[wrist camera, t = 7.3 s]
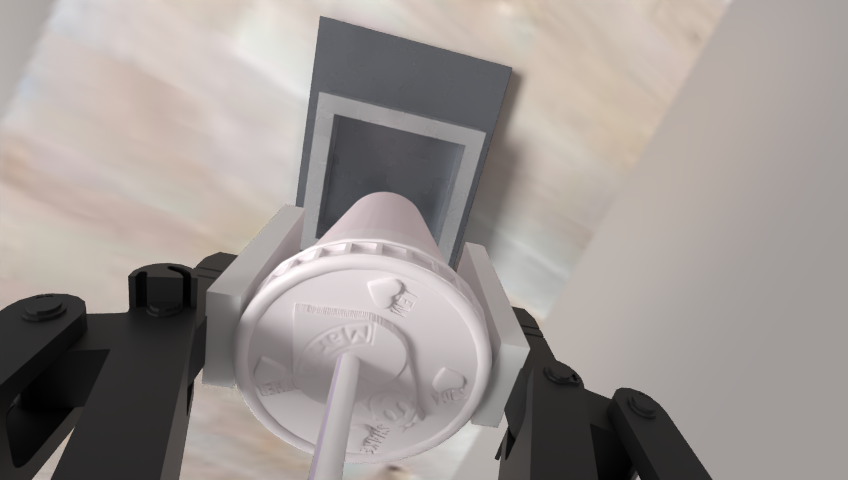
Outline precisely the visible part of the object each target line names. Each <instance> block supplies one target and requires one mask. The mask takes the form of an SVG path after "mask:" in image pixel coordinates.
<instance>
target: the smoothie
mask: <svg viewBox="0 0 848 480" xmlns="http://www.w3.org/2000/svg"><path fill="white" fill-rule="evenodd" d="M232 366H233V372H234V377H235V381H236V383H237V386H238V389H239V391H240V393H241V396H242V398H243V399H244V401H245V403H246V404H247V406H248V408H249V409H250V410H251V411H252V413H253V414H254V415H255V417H256V418H257V419H258V420H259V421H260V422H261V423H262V424H263V425H264V426H265V427H266V428H268V429H269V430H270V431H271V432H272V433H273V434H275V435H276V436H278V437H279V438H281V439H282V440H284V441H285V442H287V443H288V444H290V445H292V446H294V447H296V448H298V449H300V450H303V451H305V452H307V453H309V454H312V455H313V459H312V463H311V467H310V471H309V476H308V480H342V474H343V468H344V462H348V463H382V462H389V461H397V460H401V459H404V458H408V457H411V456H414V455H418V454H420V453H422V452H425V451H427V450H429V449H431V448H433V447H436V446H438V445H439V444H441V443H442V442H444V441H445V440H447V439H449V438H450V437H451V436H453V435H454V434H455V433H457V432H458V431H459V430H460V429H461V428H462V427H463V426H464V425H465V424H466V423H467V422H468V421H469V420H470V419H471V417H472V416H473V415H474V413H475V412H476V411H477V409H478V408H479V406H480V404H481V403H482V401H483V399H484V396H485V394H486V392H487V389H488V386H489V383H490V378H491V372H492V351H491V344H490V340H489V334H488V329H487V325H486V320H485V315H484V311H483V309H482V307H481V305H480V304H479V302H478V300H477V298H476V297H475V295H474V293H473V291H472V290H471V288H470V286H469V285H468V284H467V283H466V282H465V281H464V280H463V279H462V278H461V277H460V276H459V275H458V274H457V273H456V272H455V271H454V270H453V269H452V268H451V267H450V266H448V265H447V264H446V262H445V260H444V259H443V257H442V255H441V253H440V251H439V249H438V247H437V245H436V243H435V241H434V239H433V237H432V235H431V233H430V231H429V229H428V227H427V225H426V223H425V221H424V220H423V218H422V216H421V214H420V212H419V210H418V209H417V207H416V206H415V205H414V204H413V203H412V202H411V201H409V200H408V199H406V198H405V197H403V196H401V195H398V194H395V193H391V192H376V193H372V194H369V195H366V196H364V197H363V198H361V199H360V200H358V201H357V202H356V203H355V204H354V205H353V206H352V207H351V208H350V209H349V210H348V211H347V212H346V213H345V214H344V215H343V216H342V217H341V218H340V219H339V220H338V221H337V222H336V223H335V224H334V225H333V226H332V228H331V229H330V230H329V231H328V232H327V233H326V234H325V235H324V236H323V237H322V238H321V239H320V240H319V241H318V242H317V243H316V244H315V245H314V246H311V247H309V248H307V249H305V250H304V251H302V252H300V253H298V254H296V255H294V256H293V257H291V258H289V259H287V260H285V261H283V262H282V263H281V264H280V265H279V266H278V267H277V268H276V269H275V270H274V271H273V272H272V273H271V274H270V275H269V276H268V277H266V278H265V279H264V280H263V281H262V282H261V283H260V284H259V286H258V288H257V290H256V292H255V294H254V296H253V298H252V300H251V302H250V304H249V305H248V307H247V308H246V310H245V312H244V313H243V315H242V317H241V319H240V321H239V324H238V326H237V329H236V332H235V335H234V340H233V346H232Z"/></svg>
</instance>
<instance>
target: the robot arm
mask: <svg viewBox="0 0 848 480" xmlns="http://www.w3.org/2000/svg"><path fill="white" fill-rule="evenodd" d="M305 210H306V208H302V207H297V206H292V205H287V204H285V205H284V206H283V207H282V208H281V210H280V211H279V212H278V213H277V214H276V215H275V216H274V217H273V218H272V219H271V221H270V222H269V223H268V224H267V225H266V226H265V227H264V228H263V229H262V230H261V232H260V233H259V234H258V235H257V236H256V237H255V238H254V239H253V240H252V241H251V243H250V244H249V245H248V246H247V247H246V248H245V249H244V250H243V251H242V252H241V253H240V255H239V256H238V255H233V254H227V253H222V252H219V253H216V254H214V255H211V256H208V257H206V258H204V259H203V260H202V261H201V262H200V263H199V264H198V265H197V266H196V268H194V269H192V268H190V267H187V266H184V265H181V264H172V263H160V264H152V265H147V266H143V267H141V268H139V269H136V270H134V271H133V272H132V273H131V274H130V275H129V276H128V282H129V310H128V312H126V313H104V314H86V306H85V301H83V300H82V299H80V298H79V297H77V296H72V295H68V294H54V293H52V294H45V295H44V294H41V295H36V296H32V297H29V298H25V299H22V300H19V301H17V302H15V303H13V304H11V305H9V306H7V307H6V308H4V309H3V310H1V311H0V480H32V479H33V477H34V476H35V475H36V474H37V472H38V471H39V470H40V469H41V467H42V466H43V465H44V464H45V463H46V461H47V460H48V459H49V458H50V456H51V455H52V454H53V453H54V451H55V450H56V449H57V448H58V447H59V445H60V444H61V443H62V442H63V440H64V439H65V438H66V437H67V435H68V434H69V433H70V432H71V431H72V429H73V428H74V427H75V428H74V430H73V432H72V434H71V436H70V439H69V441H68V443H67V445H66V447H65V450H64V452H63V454H62V456H61V458H60V460H59V463H58V465H57V467H56V469H55V471H54V473H53V476H52V478H51V480H179V476H180V470H181V464H182V459H183V453H184V447H185V441H186V435H187V430H188V424H189V418H190V412H191V406H192V401H193V395H194V379H195V378H196V376H197V375H198V373H199V372H200V370H201V369H202V368H203V377H202V384H208V385H214V386H221V387H228V388H234V386H235V384H236V381H235V377H234V372H233V366H232V346H233V340H234V335H235V332H236V329H237V326H238V324H239V321H240V319H241V317H242V315H243V313H244V312H245V310H246V308H247V307H248V305H249V304H250V302H251V300H252V298H253V296H254V294H255V292H256V290H257V288H258V286H259V284H260V283H261V282H262V281H263V280H264V279H265V278H266V277H268V276H269V275H270V274H271V273H272V272H273V271H274V270H275V269H276V268H277V267H278V266H279V265H280V264H281V263H282V262H283V261H285V260H287V259H289V258H291V257H293V256H294V255H296V254H298V253H300V246H301V239H302V232H303V225H304V217H305ZM456 273H457V274H458V275H459V276H460V277H461V278H462V279H463V280H464V281H465V282H466V283H467V284H468V285H469V286H470V288H471V290H472V291H473V293H474V295H475V297H476V298H477V300H478V302H479V304H480V305H481V307H482V309H483V311H484V315H485V320H486V325H487V329H488V334H489V340H490V344H491V351H492V372H491V378H490V383H489V386H488V389H487V392H486V394H485V396H484V399H483V401H482V403H481V404H480V406H479V408H478V409H477V411H476V412H475V413H474V415H473V416H472V417H471V423H472V424H475V425H482V426H489V427H496V428H498V426H499V423H500V421H501V419H502V416H503V414H504V412H505V415H506V418H507V422H508V428H507V430H506V433H505V435H504V437H503V440H502V442H501V444H500V447H499V449H498V452H497V454H496V456H495V459H496V460H499V458H500V456H501V461H500V469H499V477H498V480H636V478H637V476H638V475H639V477H640V479H641V480H712V478H711V477H710V475H709V474H708V472H707V471H706V470H705V468H704V467H703V465H702V464H701V462H700V461H699V459H698V458H697V456H696V455H695V453H694V452H693V451H692V449H691V448H690V446H689V445H688V443H687V442H686V440H685V439H684V437H683V436H682V435H681V433H680V431H679V430H678V429H677V427H676V426H675V424H674V423H673V421H672V420H671V418H670V417H669V416H668V414H667V413H666V411H665V410H664V409H663V408H662V407H661V406H660V405H659V404H658V403H657V402H656V401H654V400H653V399H652V398H651V397H649V396H648V395H645V394H644V393H642V392H640V391H637V390H634V389H631V388H620V389H617V390H616V392H615V393H614V396H613V397H612V399H609V398H606V397H604V396H601V395H599V394H596V393H593V392H591V391H589V390H587V389H584V384H583V381H582V379H581V377H580V376H579V375H578V374H577V373H576V372H575V371H574V370H572V369H571V368H570V367H569V366H567V365H565V364H563V363H561V362H559V361H557V360H556V359H555V357H554V355H553V353H552V352H551V350H550V348H549V346H548V344H547V342H546V340H545V338H543V334H542V332H541V330H539V326H538V325H537V323H536V321H535V319H534V318H533V317H532V316H531V315H530V314H529V313H528V312H527V311H526V310H525V309H522V308H517V307H511V305H510V302H509V300H508V298H507V296H506V294H505V291H504V289H503V287H502V285H501V283H500V280H499V278H498V276H497V274H496V272H495V269H494V267H493V265H492V263H491V261H490V258H489V256H488V254H487V252H486V249H485V247H484V246H483V245H478V244H474V243H469V242H465V246H464V249H463V252H462V256H461V259H460V262H459V266H458V269H457V272H456Z"/></svg>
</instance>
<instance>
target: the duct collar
mask: <svg viewBox="0 0 848 480" xmlns="http://www.w3.org/2000/svg"><path fill="white" fill-rule="evenodd" d="M511 70H512V68H511V67H507V66H504V65H500V64H496V63H493V62H489V61H485V60H481V59H478V58H474V57H470V56H467V55H463V54H459V53H456V52H452V51H448V50H445V49H441V48H437V47H434V46H430V45H426V44H422V43H419V42H415V41H411V40H408V39H404V38H400V37H397V36H393V35H389V34H386V33H382V32H378V31H375V30H371V29H367V28H364V27H360V26H356V25H352V24H349V23H345V22H341V21H338V20H334V19H330V18H327V17H323V16H320V21H319V29H318V36H317V44H316V52H315V59H314V67H313V75H312V83H311V90H310V98H309V106H308V113H307V121H306V129H305V136H304V144H303V152H302V160H301V167H300V175H299V183H298V190H297V198H296V206H297V207H302V208H306V210H305V217H304V225H303V232H302V239H301V246H300V252H302V251H304V250H305V249H307V248H309V247H311V246H314V245H315V244H316V243H317V242H318V241H319V240H320V239H321V238H322V237H323V236H324V235H325V234H326V233H327V232H328V231H329V230H330V229H331V228H332V226H333V225H334V224H335V223H336V222H337V221H338V220H339V219H340V218H341V217H342V216H343V215H344V214H345V213H346V212H347V211H348V210H349V209H350V208H351V207H352V206H353V205H354V204H355V203H356V202H357V201H358V200H360V199H361V198H363V197H364V196H366V195H369V194H372V193H376V192H391V193H395V194H398V195H401V196H403V197H405V198H406V199H408V200H409V201H411V202H412V203H413V204H414V205H415V206H416V207H417V209H418V210H419V212H420V214H421V216H422V218H423V220H424V221H425V223H426V225H427V227H428V229H429V231H430V233H431V235H432V237H433V239H434V241H435V243H436V245H437V247H438V249H439V251H440V253H441V255H442V257H443V259H444V260H445V262H446V264H447V265H448V266H450V267H451V268H452V269H453V267H454V263H455V260H456V257H457V253H458V250H459V246H460V243H461V240H462V236H463V233H464V230H465V226H466V223H467V219H468V216H469V213H470V209H471V206H472V202H473V199H474V196H475V192H476V189H477V185H478V182H479V179H480V175H481V172H482V168H483V165H484V162H485V158H486V155H487V152H488V148H489V145H490V141H491V138H492V135H493V131H494V128H495V124H496V121H497V118H498V114H499V111H500V107H501V104H502V101H503V97H504V94H505V91H506V87H507V84H508V80H509V77H510V74H511Z"/></svg>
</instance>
